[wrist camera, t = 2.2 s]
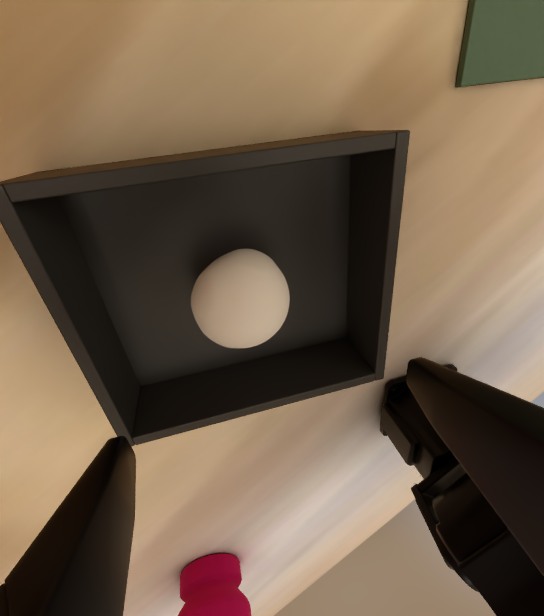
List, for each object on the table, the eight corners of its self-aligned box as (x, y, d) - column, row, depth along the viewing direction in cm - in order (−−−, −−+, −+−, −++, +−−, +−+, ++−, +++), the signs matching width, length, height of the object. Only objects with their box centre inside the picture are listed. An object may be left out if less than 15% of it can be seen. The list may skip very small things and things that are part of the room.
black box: (357, 130, 16) (410, 129, 12) (350, 338, 23) (384, 378, 19) (35, 172, 14) (-20, 186, 10) (134, 391, 20) (123, 448, 17)
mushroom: (210, 221, 16) (220, 252, 12) (289, 255, 18) (322, 293, 14) (177, 302, 18) (174, 355, 13) (253, 325, 20) (272, 378, 15)
